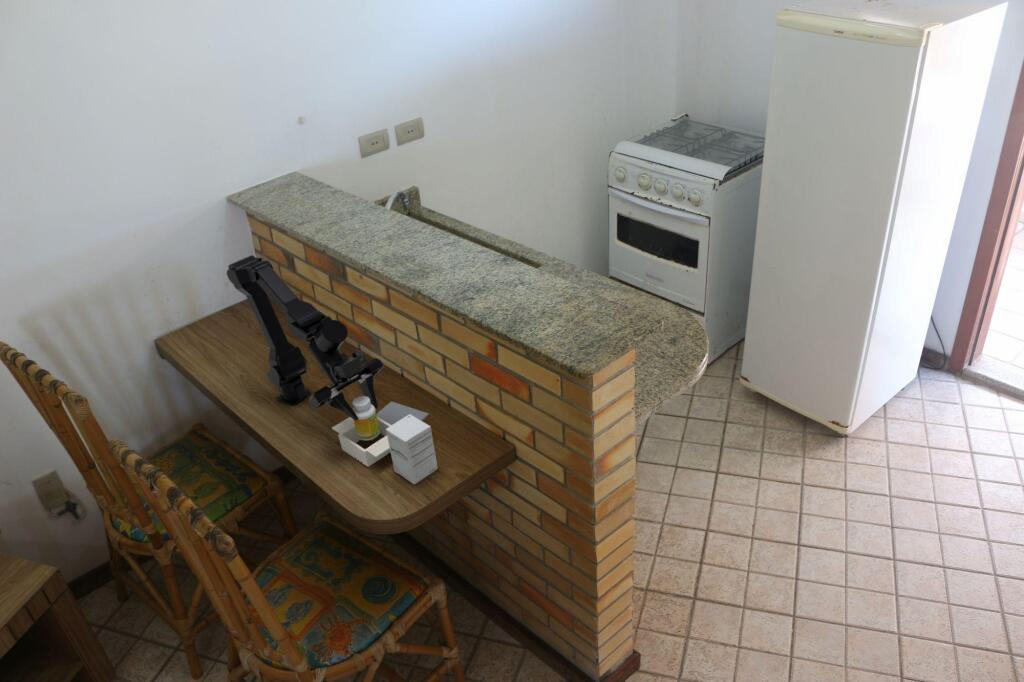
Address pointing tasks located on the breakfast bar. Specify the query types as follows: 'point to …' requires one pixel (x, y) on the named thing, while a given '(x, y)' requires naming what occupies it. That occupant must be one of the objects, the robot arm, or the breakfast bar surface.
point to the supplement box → (412, 448)
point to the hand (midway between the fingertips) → (367, 413)
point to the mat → (399, 413)
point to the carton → (350, 438)
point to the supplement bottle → (365, 419)
